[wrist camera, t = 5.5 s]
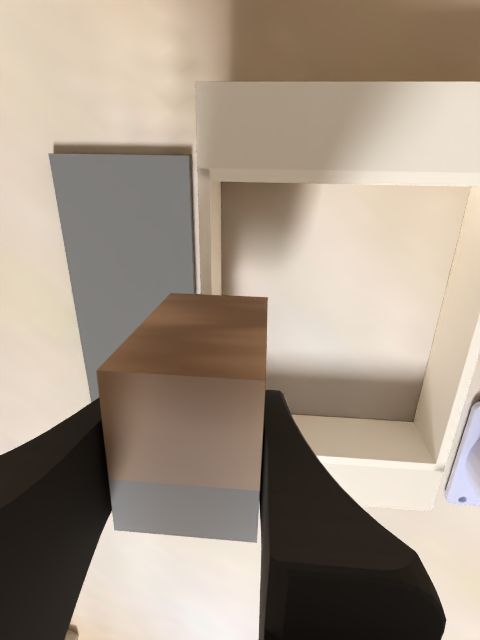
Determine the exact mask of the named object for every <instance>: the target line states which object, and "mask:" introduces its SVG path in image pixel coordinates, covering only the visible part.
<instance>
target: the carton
mask: <svg viewBox="0 0 480 640" xmlns="http://www.w3.org/2000/svg"><path fill="white" fill-rule="evenodd" d="M195 103H196V138H197V173H198V208H199V243H200V278H201V294H203V295H222V291H221V182H266V183H318V184H369V185H420V186H471V189H470V193H469V197H468V201H467V205H466V209H465V213H464V217H463V221H462V225H461V230H460V234H459V238H458V242H457V246H456V250H455V254H454V258H453V262H452V266H451V270H450V275H449V279H448V283H447V287H446V291H445V295H444V299H443V303H442V307H441V311H440V315H439V320H438V324H437V328H436V332H435V336H434V340H433V344H432V348H431V352H430V356H429V360H428V365H427V369H426V373H425V377H424V381H423V385H422V389H421V393H420V397H419V401H418V405H417V410H416V414H415V418H414V422H404V421H388V420H373V419H357V418H341V417H325V416H310V415H294V414H291V415H292V417H293V419H294V421H295V423H296V424H297V426H298V428H299V430H300V431H301V433H302V435H303V437H304V438H305V440H306V441H307V443H308V445H309V446H310V448H311V449H312V451H313V452H314V453H315V455H316V456H317V458H318V459H319V460H320V462H321V463H322V464H323V466H324V467H325V468H326V469H327V471H328V472H329V473H330V474H331V476H332V477H333V478H334V479H335V480H336V481H337V483H338V484H339V485H340V486H341V487H342V488H343V489H344V490H345V491H346V492H347V493H348V494H349V495H350V496H351V497H352V498H353V499H354V500H355V501H356V502H357V503H358V504H359V505H360V506H368V507H380V508H393V509H406V510H418V511H432V508H433V505H434V502H435V498H436V495H437V492H438V488H439V485H440V482H441V478H442V475H443V472H444V469H445V465H446V462H447V459H448V455H449V452H450V449H451V446H452V442H453V439H454V436H455V432H456V429H457V426H458V422H459V419H460V416H461V413H462V409H463V406H464V403H465V399H466V396H467V393H468V390H469V386H470V383H471V380H472V376H473V373H474V370H475V366H476V363H477V360H478V357H479V353H480V82H195Z"/></svg>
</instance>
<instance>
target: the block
mask: <svg viewBox="0 0 480 640" xmlns="http://www.w3.org/2000/svg"><path fill="white" fill-rule="evenodd" d="M267 301H268V297H246V296H225V295H203V294H181V293H170V294H169V295H168V296H167V297H166V299H165V300H164V301H163V302H162V303H161V304H160V305H159V306H158V307H157V308H156V309H155V310H154V311H153V312H152V313H151V314H150V315H149V316H148V317H147V318H146V319H145V320H144V321H143V322H142V323H141V324H140V326H139V327H138V328H137V329H136V330H135V331H134V332H133V333H132V334H131V335H130V336H129V337H128V338H127V339H126V340H125V341H124V342H123V343H122V344H121V345H120V346H119V347H118V348H117V349H116V350H115V352H114V353H113V354H112V355H111V356H110V357H109V358H108V359H107V360H106V361H105V362H104V363H103V364H102V365H101V366H100V367H99V368H98V369H97V370H96V373H97V382H98V391H99V399H100V408H101V417H102V426H103V434H104V443H105V452H106V460H107V469H108V478H109V487H110V495H111V504H112V513H113V521H114V530H118V531H130V532H141V533H152V534H164V535H175V536H187V537H198V538H209V539H221V540H232V541H243V542H255V543H257V530H258V512H259V494H260V476H261V458H262V440H263V422H264V404H265V386H266V348H267Z"/></svg>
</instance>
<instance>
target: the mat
mask: <svg viewBox="0 0 480 640" xmlns="http://www.w3.org/2000/svg"><path fill="white" fill-rule="evenodd" d="M49 159H50V164H51V170H52V176H53V182H54V188H55V193H56V199H57V205H58V211H59V217H60V222H61V228H62V234H63V240H64V246H65V252H66V257H67V263H68V269H69V275H70V281H71V286H72V292H73V298H74V304H75V310H76V315H77V321H78V327H79V333H80V339H81V344H82V350H83V356H84V362H85V368H86V374H87V379H88V385H89V391H90V397H91V402H93V401H94V400H96V399H97V398H99V391H98V382H97V373H96V370H97V369H98V368H99V367H100V366H101V365H102V364H103V363H104V362H105V361H106V360H107V359H108V358H109V357H110V356H111V355H112V354H113V353H114V352H115V350H116V349H117V348H118V347H119V346H120V345H121V344H122V343H123V342H124V341H125V340H126V339H127V338H128V337H129V336H130V335H131V334H132V333H133V332H134V331H135V330H136V329H137V328H138V327H139V326H140V324H141V323H142V322H143V321H144V320H145V319H146V318H147V317H148V316H149V315H150V314H151V313H152V312H153V311H154V310H155V309H156V308H157V307H158V306H159V305H160V304H161V303H162V302H163V301H164V300H165V299H166V297H167V296H168V295H169V294H170V293H181V294H195V274H194V246H193V217H192V189H191V160H190V156H189V155H120V154H51V153H49Z"/></svg>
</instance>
